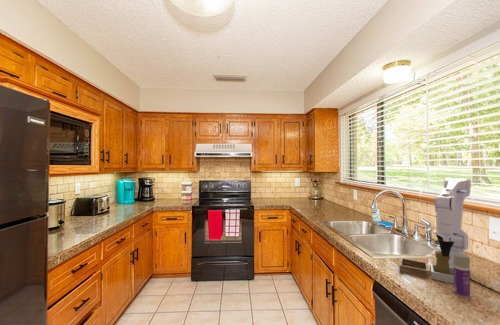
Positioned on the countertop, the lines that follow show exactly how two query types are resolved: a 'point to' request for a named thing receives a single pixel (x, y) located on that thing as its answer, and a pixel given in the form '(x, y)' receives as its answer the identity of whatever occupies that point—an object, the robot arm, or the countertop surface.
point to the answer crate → (441, 274)
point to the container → (461, 275)
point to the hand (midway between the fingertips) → (444, 253)
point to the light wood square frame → (411, 269)
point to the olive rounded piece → (442, 263)
